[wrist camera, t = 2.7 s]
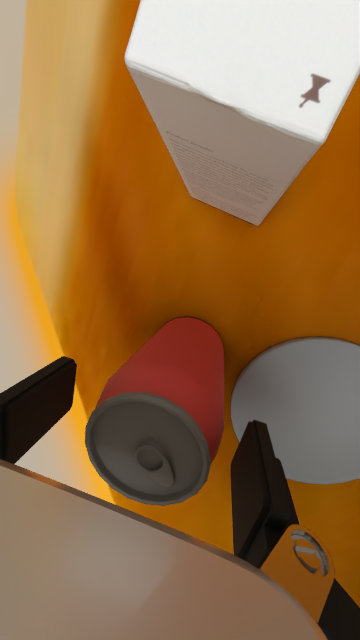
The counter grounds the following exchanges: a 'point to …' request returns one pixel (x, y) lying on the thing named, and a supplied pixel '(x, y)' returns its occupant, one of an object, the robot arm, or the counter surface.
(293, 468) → the slate mat
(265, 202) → the skincare box
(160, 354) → the beer can
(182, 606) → the robot arm
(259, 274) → the counter surface
